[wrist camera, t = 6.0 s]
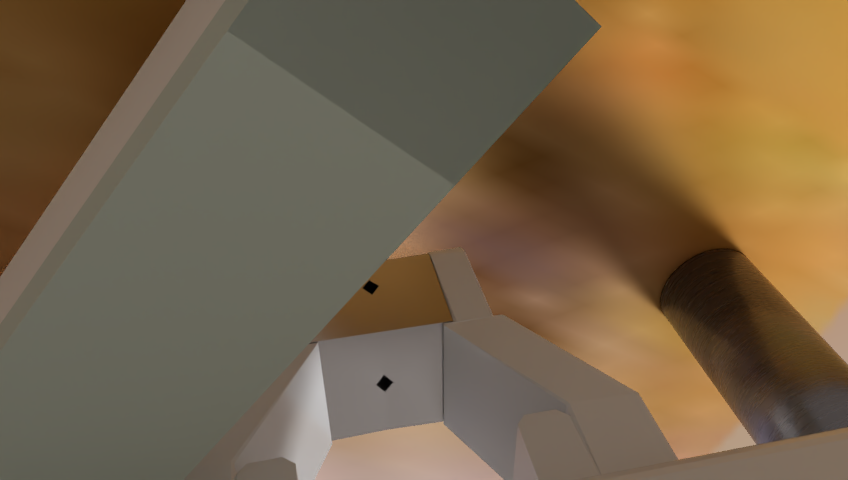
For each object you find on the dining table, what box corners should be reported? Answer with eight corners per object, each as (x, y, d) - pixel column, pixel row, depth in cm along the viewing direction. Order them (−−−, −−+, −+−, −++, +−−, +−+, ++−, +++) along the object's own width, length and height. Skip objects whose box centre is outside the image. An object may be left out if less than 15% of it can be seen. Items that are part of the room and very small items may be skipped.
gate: (-45, 504, 13) (-185, 878, 9) (-158, 476, 12) (-373, 877, 8) (428, -120, 9) (600, 26, 5) (308, -234, 8) (380, -188, 4)
